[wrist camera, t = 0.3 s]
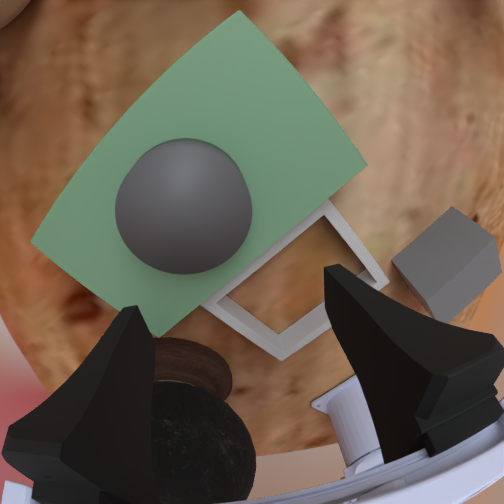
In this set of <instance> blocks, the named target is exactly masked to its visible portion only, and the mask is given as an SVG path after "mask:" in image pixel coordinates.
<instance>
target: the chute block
mask: <svg viewBox="0 0 504 504" xmlns="http://www.w3.org/2000/svg"><path fill="white" fill-rule="evenodd" d="M391 261H392V262H393V264H394V265H395V267H396V268H397V270H398V271H399V273H400V275H401V276H402V278H403V279H404V281H405V283H406V284H407V286H408V287H409V289H410V290H411V292H412V293H413V294H414V295H415V297H416V298H417V299H418V300H419V302H420V303H421V304H422V305H423V307H424V308H425V309H426V310H427V312H428V313H429V314H430V316H431V317H432V318H433V319H435V320H438V321H441V322H444V323H448V322H449V321H451V320H452V319H453V318H454V317H455V316H456V315H457V314H459V313H460V312H461V311H462V310H463V309H464V308H465V307H466V306H468V305H469V304H470V303H471V302H472V301H473V300H474V299H475V298H476V297H477V296H478V295H479V294H481V293H482V292H483V291H484V290H485V289H486V288H487V287H488V286H489V285H490V284H491V283H492V282H493V281H494V280H495V279H496V278H497V277H498V276H499V275H500V274H501V273H502V270H501V265H500V260H499V255H498V250H497V245H496V241H495V237H494V236H492V235H491V234H490V233H488V232H487V231H486V230H484V229H483V228H482V227H480V226H479V225H478V224H476V223H475V222H474V221H472V220H471V219H470V218H468V217H467V216H465V215H464V214H463V213H461V212H460V211H458V210H457V209H455V208H454V207H452V206H451V207H450V208H449V209H448V210H447V211H446V212H445V213H444V214H443V215H442V216H441V217H440V218H438V219H437V220H436V221H435V222H434V223H433V224H432V225H431V226H430V227H429V228H427V229H426V230H425V231H424V232H423V233H422V234H421V235H420V236H418V237H417V238H416V239H415V240H414V241H413V242H411V243H410V244H409V245H408V246H407V247H406V248H405V249H403V250H402V251H401V252H400V253H399V254H397V255H396V256H395V257H394V258H393V259H391Z"/></svg>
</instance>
